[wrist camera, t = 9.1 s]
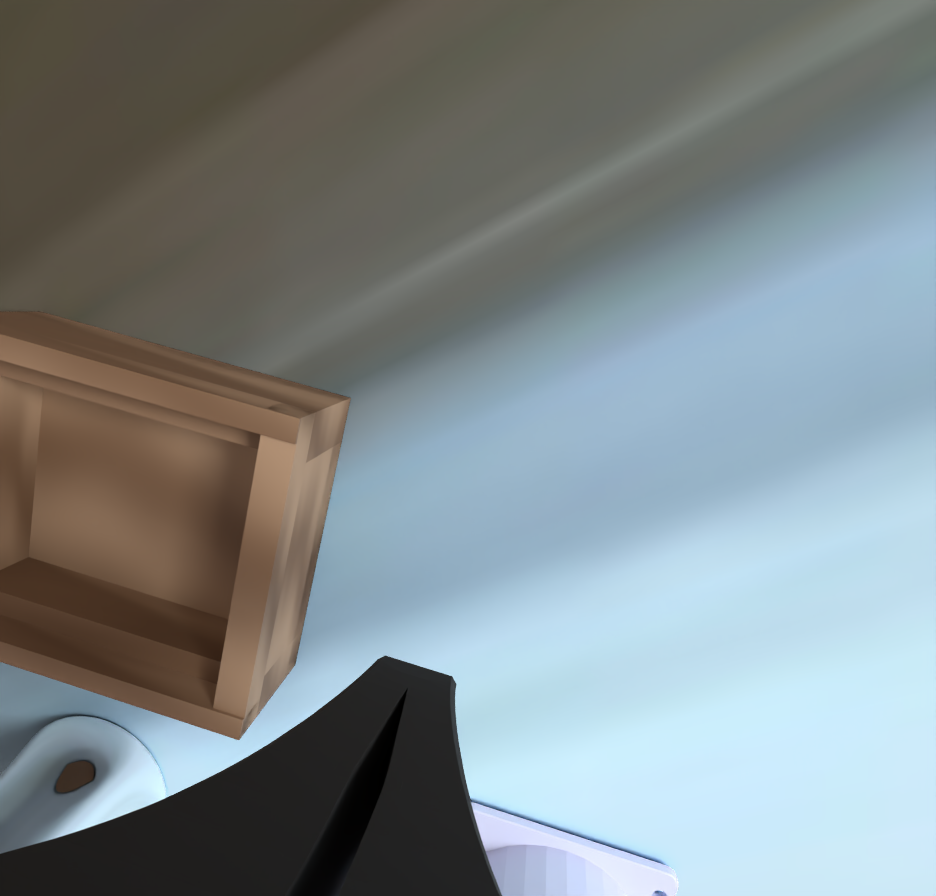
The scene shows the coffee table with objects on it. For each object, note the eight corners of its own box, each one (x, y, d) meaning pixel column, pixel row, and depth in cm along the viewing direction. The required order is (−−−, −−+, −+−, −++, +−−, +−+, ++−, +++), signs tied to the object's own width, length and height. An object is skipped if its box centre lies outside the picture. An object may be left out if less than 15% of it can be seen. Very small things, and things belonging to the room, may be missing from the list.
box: (295, 664, 22) (238, 740, 19) (18, 577, 23) (-92, 631, 19) (350, 397, 20) (300, 418, 16) (40, 311, 21) (-80, 311, 17)
